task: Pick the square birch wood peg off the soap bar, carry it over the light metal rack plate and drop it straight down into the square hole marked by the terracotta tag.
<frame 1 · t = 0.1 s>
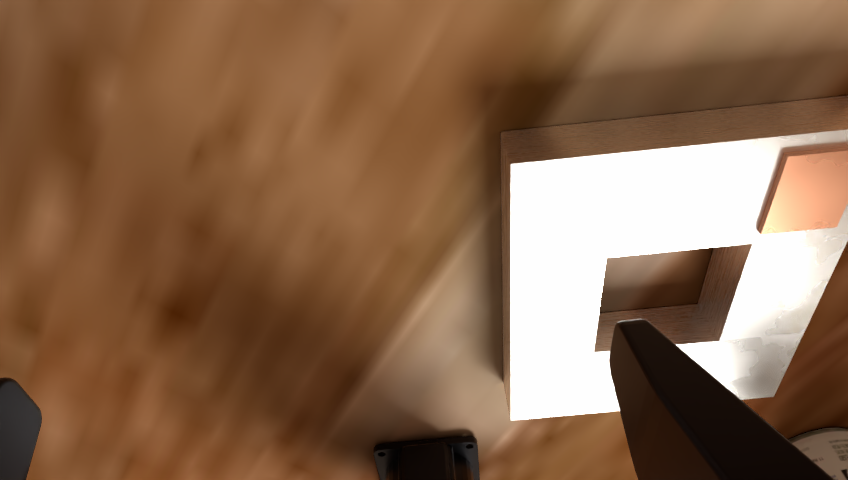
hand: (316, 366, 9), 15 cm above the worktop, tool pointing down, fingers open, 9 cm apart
rack plate: (647, 265, 27), on the worktop
spray can: (809, 451, 39), on the worktop
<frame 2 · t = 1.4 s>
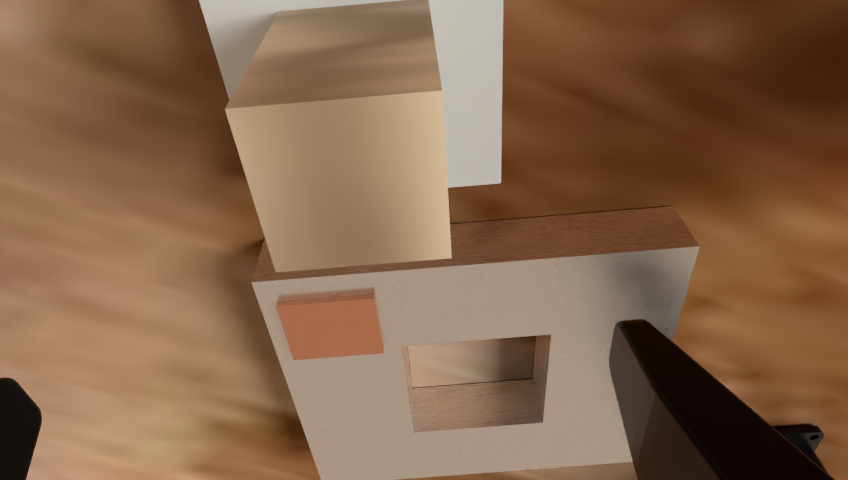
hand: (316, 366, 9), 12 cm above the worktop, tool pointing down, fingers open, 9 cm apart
peg: (363, 77, 16), point 2 cm above the worktop, touching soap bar
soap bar: (366, 52, 18), on the worktop
rack plate: (471, 343, 26), on the worktop
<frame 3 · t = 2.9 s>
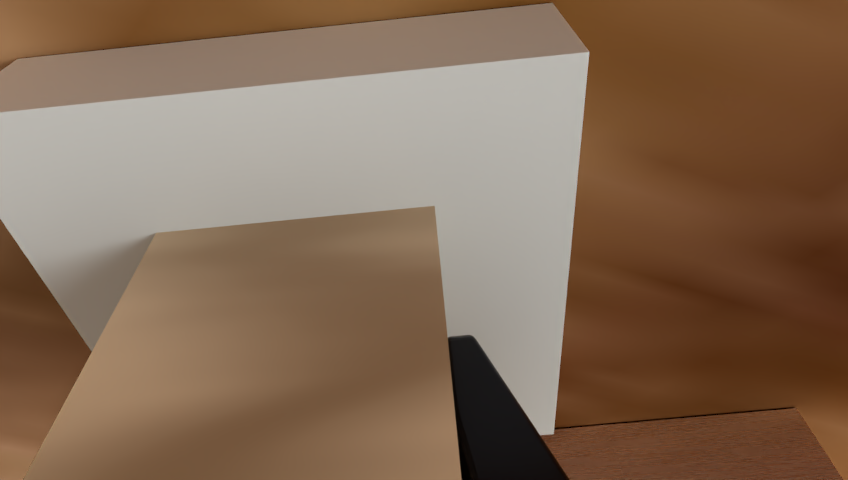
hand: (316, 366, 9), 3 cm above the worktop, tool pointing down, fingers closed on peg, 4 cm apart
peg: (322, 317, 9), point 2 cm above the worktop, touching gripper, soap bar
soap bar: (332, 241, 11), on the worktop
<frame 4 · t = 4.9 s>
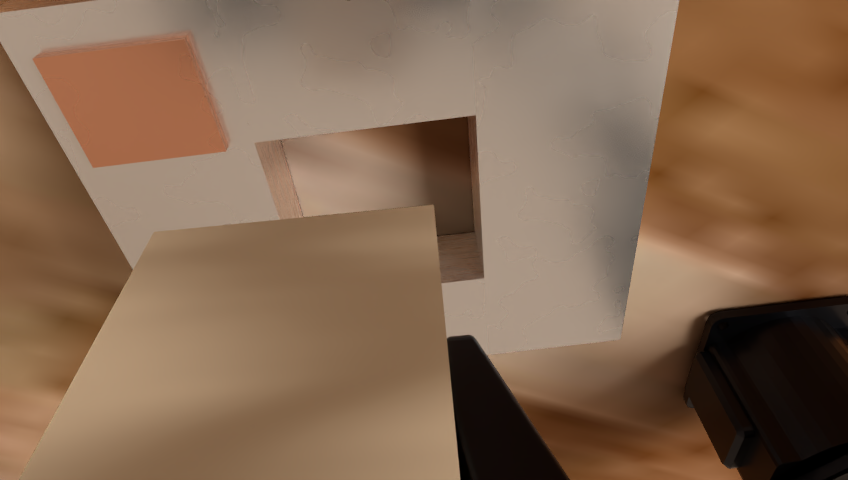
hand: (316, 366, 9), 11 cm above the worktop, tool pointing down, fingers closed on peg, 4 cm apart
peg: (321, 316, 9), point 10 cm above the worktop, touching gripper
rack plate: (381, 173, 19), on the worktop
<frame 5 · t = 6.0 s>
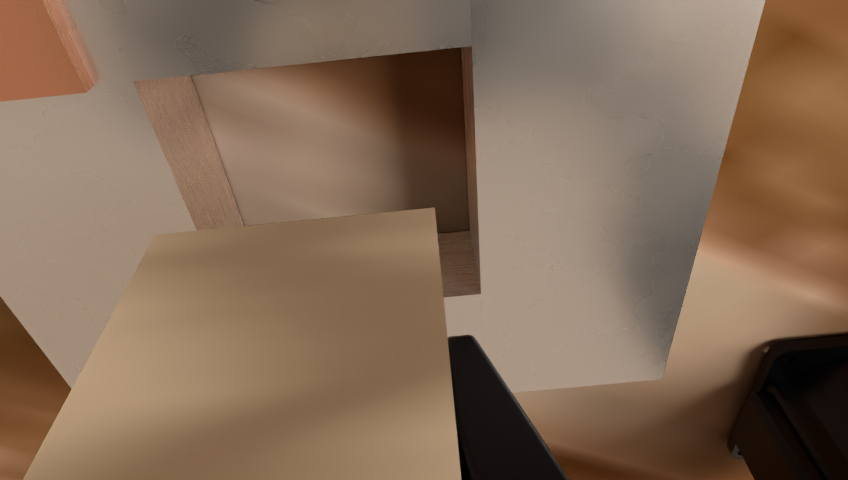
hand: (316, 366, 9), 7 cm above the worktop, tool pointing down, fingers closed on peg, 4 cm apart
peg: (322, 319, 9), point 6 cm above the worktop, touching gripper
rack plate: (341, 145, 14), on the worktop
when the fingers open (4 cm above the worktop, at t = 6.8 s): peg drops 3 cm, resting in rack plate.
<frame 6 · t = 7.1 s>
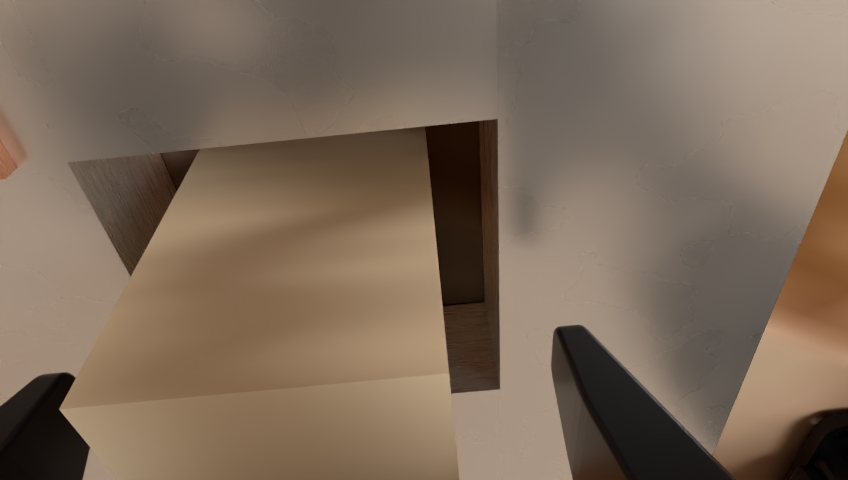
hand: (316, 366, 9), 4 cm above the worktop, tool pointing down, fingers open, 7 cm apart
peg: (335, 210, 12), resting in rack plate
rack plate: (335, 211, 12), on the worktop
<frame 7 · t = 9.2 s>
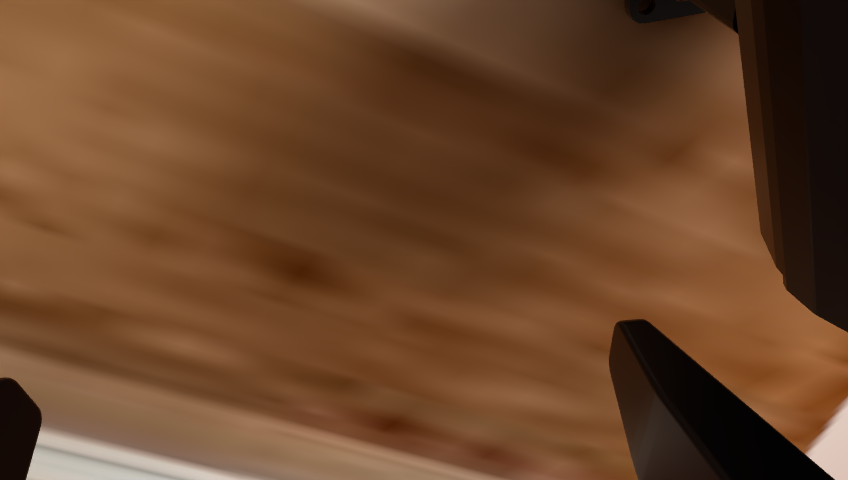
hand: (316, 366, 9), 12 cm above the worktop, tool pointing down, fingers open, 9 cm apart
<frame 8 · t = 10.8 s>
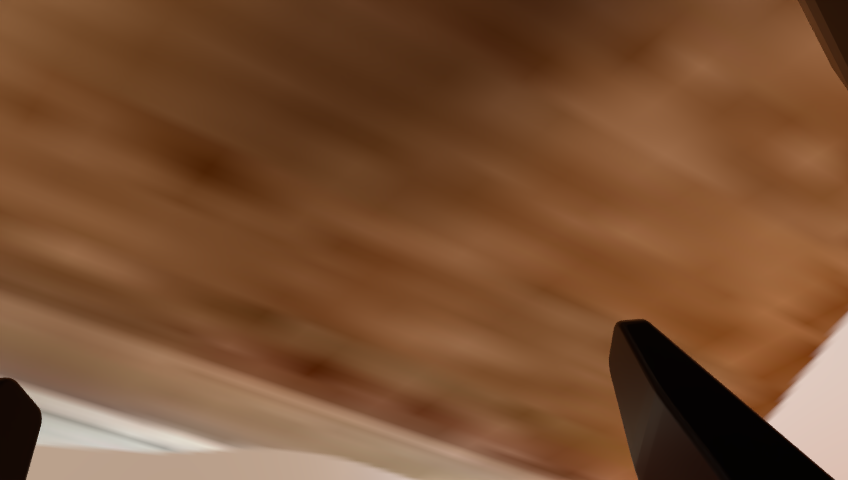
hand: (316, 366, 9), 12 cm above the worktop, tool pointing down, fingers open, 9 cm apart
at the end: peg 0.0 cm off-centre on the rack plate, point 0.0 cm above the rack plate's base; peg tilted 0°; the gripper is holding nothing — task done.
